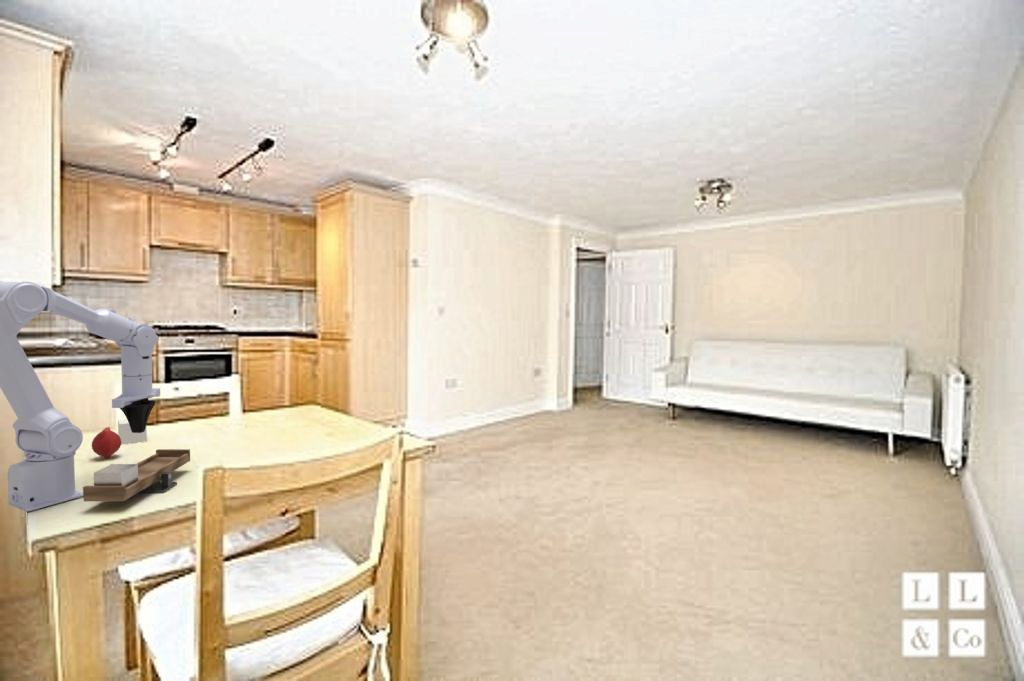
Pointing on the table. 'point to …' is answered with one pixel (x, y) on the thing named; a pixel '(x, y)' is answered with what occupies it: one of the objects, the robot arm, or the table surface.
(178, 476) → the table surface
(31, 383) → the robot arm
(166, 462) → the balance beam
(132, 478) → the block
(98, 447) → the onion
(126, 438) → the white cube
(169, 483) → the beam stand
